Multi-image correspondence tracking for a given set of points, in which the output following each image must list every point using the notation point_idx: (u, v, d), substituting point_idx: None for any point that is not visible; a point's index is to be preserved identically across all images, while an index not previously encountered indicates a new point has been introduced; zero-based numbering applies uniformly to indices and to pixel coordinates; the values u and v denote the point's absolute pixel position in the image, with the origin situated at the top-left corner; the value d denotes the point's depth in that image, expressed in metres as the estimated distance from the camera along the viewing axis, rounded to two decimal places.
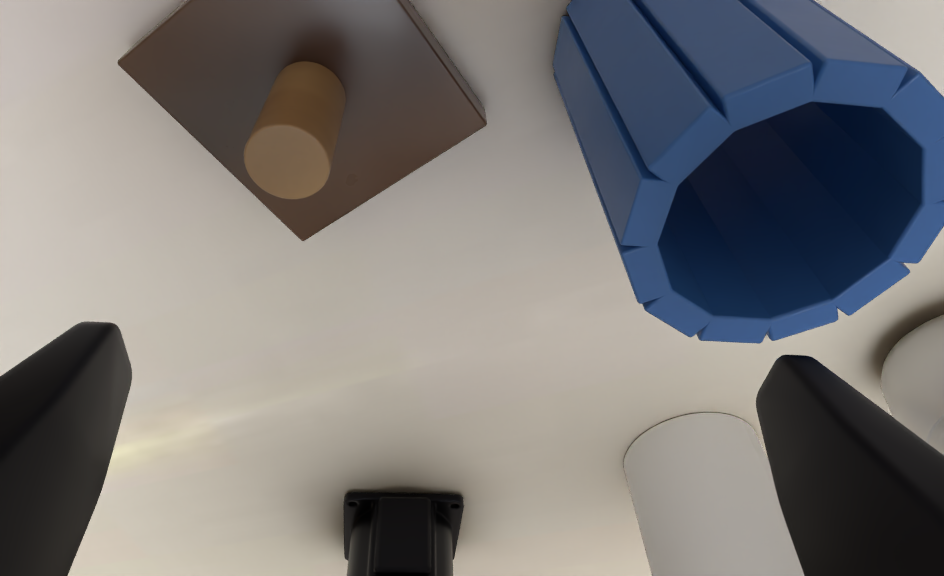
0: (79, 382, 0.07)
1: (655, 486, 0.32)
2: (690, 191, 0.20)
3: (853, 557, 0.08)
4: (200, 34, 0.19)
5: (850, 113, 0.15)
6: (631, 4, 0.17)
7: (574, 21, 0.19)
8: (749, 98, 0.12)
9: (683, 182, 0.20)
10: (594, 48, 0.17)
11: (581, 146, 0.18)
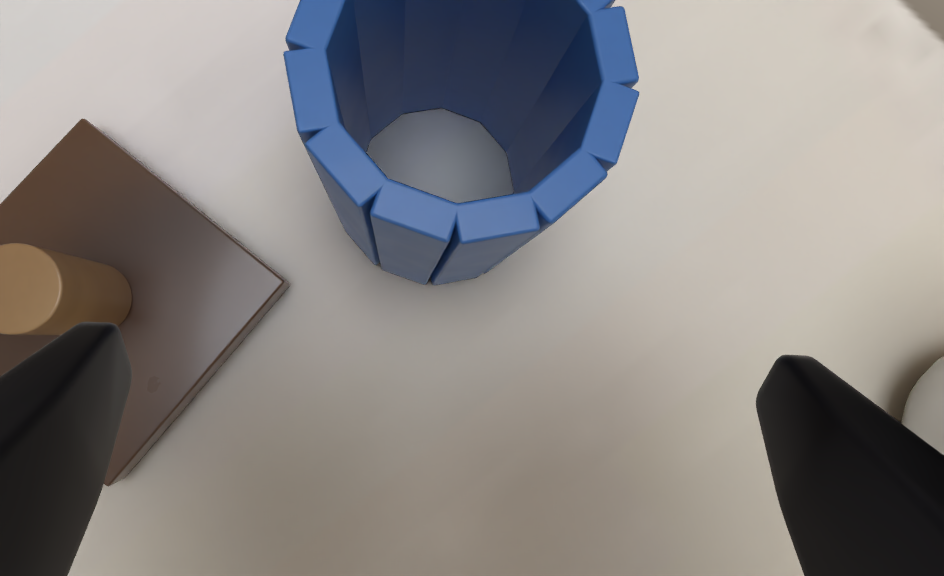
0: (79, 382, 0.07)
1: None
2: None
3: (853, 557, 0.08)
4: None
5: (534, 50, 0.16)
6: None
7: None
8: None
9: None
10: None
11: (330, 197, 0.17)
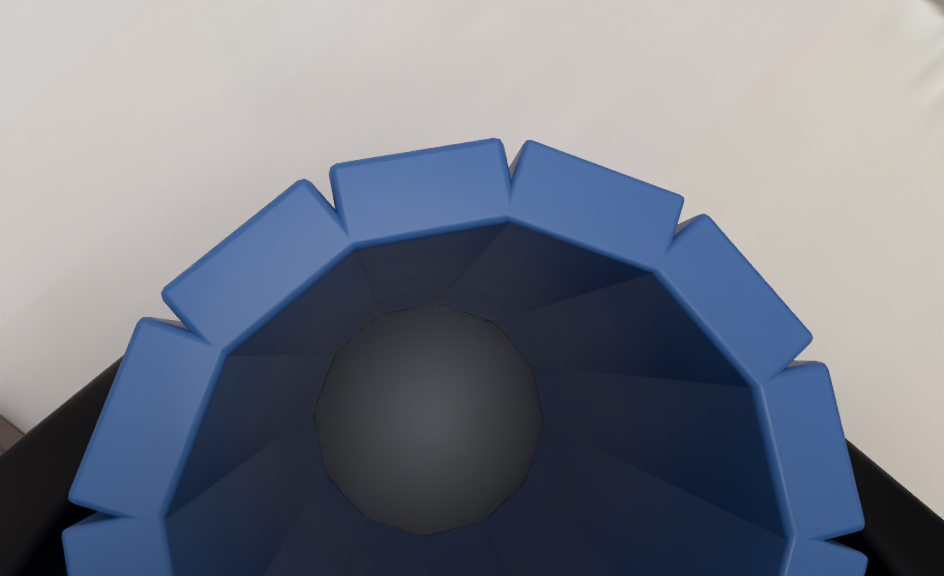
0: None
1: None
2: None
3: None
4: None
5: (603, 337, 0.09)
6: None
7: None
8: (216, 277, 0.06)
9: None
10: None
11: None
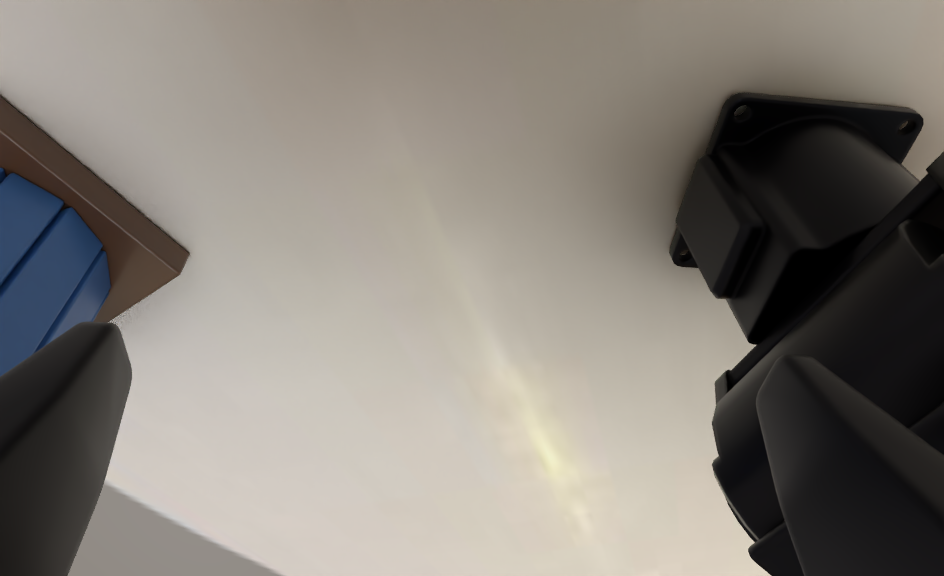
0: (79, 382, 0.07)
1: None
2: None
3: (853, 557, 0.08)
4: None
5: None
6: None
7: None
8: None
9: None
10: None
11: None
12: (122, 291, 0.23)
